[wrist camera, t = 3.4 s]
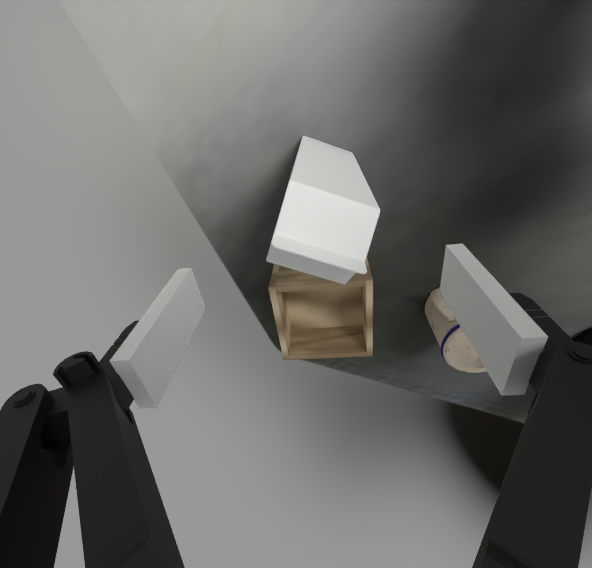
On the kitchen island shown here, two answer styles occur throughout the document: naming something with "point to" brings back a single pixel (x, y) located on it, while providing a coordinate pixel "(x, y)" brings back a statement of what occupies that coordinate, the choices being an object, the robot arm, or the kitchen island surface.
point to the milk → (325, 215)
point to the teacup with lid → (451, 335)
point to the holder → (322, 314)
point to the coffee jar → (585, 337)
